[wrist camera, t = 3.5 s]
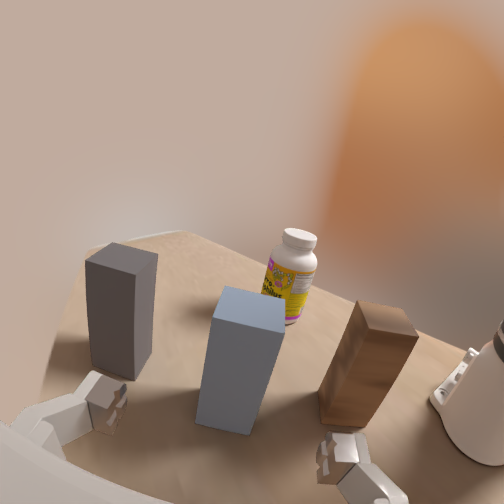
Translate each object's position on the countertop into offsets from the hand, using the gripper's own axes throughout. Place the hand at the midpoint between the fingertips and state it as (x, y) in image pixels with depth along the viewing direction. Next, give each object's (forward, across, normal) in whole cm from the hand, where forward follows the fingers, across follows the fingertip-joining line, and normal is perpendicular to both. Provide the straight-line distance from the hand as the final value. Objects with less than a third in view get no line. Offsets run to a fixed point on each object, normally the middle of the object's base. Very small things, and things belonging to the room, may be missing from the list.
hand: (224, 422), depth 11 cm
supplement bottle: (+34, -5, +13) cm, 37 cm away
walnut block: (+16, -12, +13) cm, 24 cm away
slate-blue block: (+13, 0, +14) cm, 19 cm away
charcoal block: (+16, +12, +14) cm, 24 cm away
